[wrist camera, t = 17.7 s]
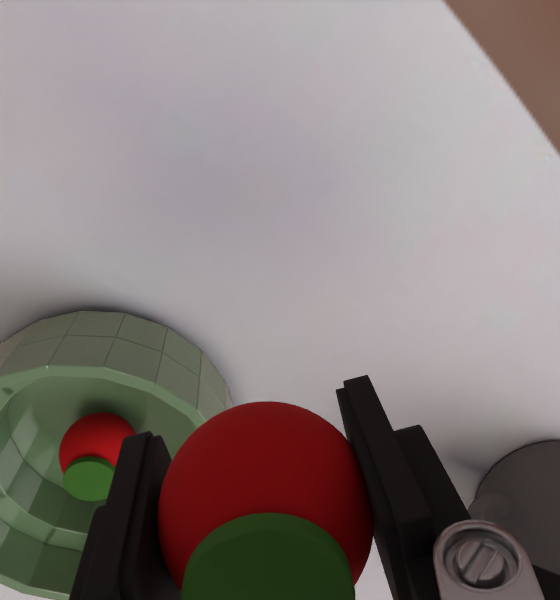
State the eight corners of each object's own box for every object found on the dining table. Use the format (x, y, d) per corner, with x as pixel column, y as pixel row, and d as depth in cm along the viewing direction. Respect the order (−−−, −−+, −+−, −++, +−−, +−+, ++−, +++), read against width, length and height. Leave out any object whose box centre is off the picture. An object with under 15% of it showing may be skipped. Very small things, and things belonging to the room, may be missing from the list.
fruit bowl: (39, 536, 33) (2, 628, 28) (-72, 342, 28) (-146, 411, 22) (259, 483, 33) (265, 565, 28) (195, 277, 27) (187, 330, 22)
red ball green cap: (85, 460, 31) (66, 519, 27) (58, 406, 29) (33, 461, 25) (153, 445, 31) (143, 501, 27) (129, 389, 29) (115, 441, 25)
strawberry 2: (274, 558, 13) (281, 747, 9) (139, 463, 12) (76, 621, 8) (390, 442, 12) (458, 588, 8) (255, 333, 11) (252, 432, 7)
